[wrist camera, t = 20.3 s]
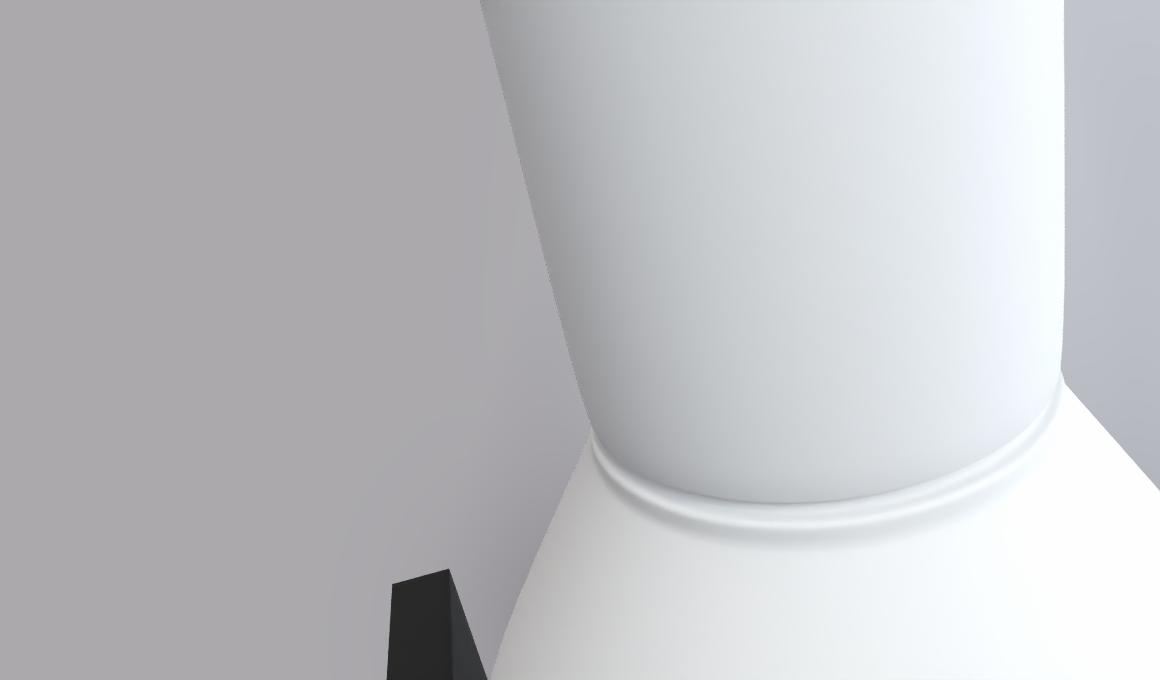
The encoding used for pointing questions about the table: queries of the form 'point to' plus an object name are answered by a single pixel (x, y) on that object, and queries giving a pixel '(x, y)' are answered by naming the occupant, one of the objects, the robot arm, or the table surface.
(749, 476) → the bath foam
